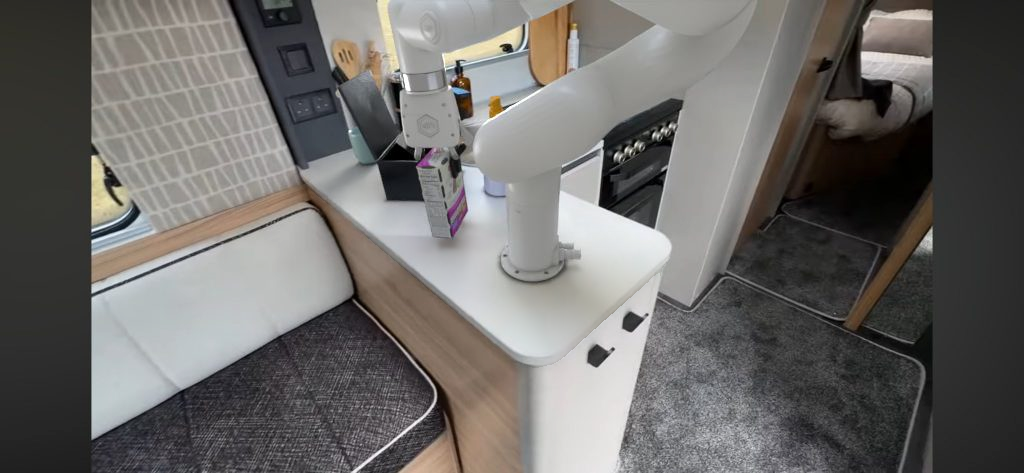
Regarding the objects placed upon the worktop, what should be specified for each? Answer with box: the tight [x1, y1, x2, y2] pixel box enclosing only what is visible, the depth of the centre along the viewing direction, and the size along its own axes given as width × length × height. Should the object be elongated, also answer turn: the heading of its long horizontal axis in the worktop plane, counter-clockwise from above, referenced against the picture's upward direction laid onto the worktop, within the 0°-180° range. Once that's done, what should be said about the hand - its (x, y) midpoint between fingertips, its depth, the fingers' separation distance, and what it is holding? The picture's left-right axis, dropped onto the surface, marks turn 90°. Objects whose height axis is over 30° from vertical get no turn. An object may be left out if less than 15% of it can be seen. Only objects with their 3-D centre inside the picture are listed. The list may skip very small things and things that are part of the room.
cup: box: [347, 126, 381, 165], centre depth 113 cm, size 8×8×10 cm
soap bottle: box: [482, 95, 506, 197], centre depth 92 cm, size 9×9×24 cm
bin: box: [376, 135, 463, 202], centre depth 99 cm, size 17×17×11 cm
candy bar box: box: [416, 147, 469, 239], centre depth 77 cm, size 11×5×16 cm, turn 169°
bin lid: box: [335, 68, 400, 160], centre depth 92 cm, size 17×17×5 cm
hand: (441, 174), depth 75 cm, fingers closed on candy bar box, 5 cm apart
